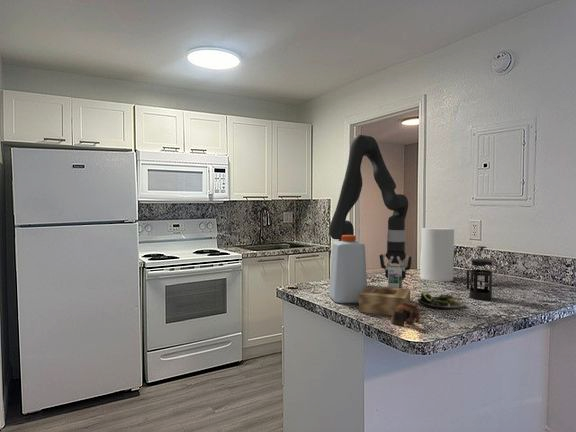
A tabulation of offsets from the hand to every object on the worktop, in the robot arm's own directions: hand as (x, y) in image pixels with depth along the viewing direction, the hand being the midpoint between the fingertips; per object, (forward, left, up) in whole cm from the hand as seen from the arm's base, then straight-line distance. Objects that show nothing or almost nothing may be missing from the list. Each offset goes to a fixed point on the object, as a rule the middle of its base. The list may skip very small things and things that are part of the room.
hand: (395, 278), depth 175 cm
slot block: (-1, -17, -9) cm, 19 cm away
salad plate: (+18, 0, -10) cm, 21 cm away
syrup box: (0, 0, -9) cm, 9 cm away
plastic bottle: (-19, -8, -9) cm, 23 cm away
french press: (+34, +19, -9) cm, 40 cm away
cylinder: (+14, +59, -9) cm, 61 cm away
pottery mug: (+9, -33, -10) cm, 36 cm away
